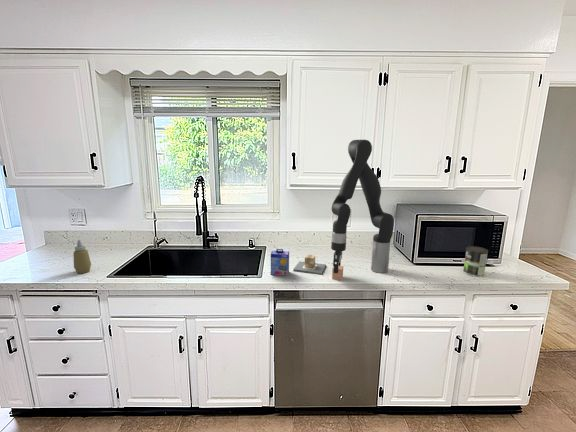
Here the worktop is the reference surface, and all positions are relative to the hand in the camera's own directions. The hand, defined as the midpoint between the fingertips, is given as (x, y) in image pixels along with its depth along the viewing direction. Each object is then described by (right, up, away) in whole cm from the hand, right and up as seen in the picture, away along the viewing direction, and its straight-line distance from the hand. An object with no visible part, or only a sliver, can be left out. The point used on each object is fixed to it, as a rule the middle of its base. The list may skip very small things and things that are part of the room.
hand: (337, 270), depth 165 cm
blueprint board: (-13, -1, +13) cm, 19 cm away
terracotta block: (0, -4, +1) cm, 5 cm away
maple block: (-13, 0, +13) cm, 19 cm away
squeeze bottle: (-138, -2, +7) cm, 138 cm away
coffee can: (+77, -3, +8) cm, 78 cm away
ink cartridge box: (-30, -3, +6) cm, 31 cm away
